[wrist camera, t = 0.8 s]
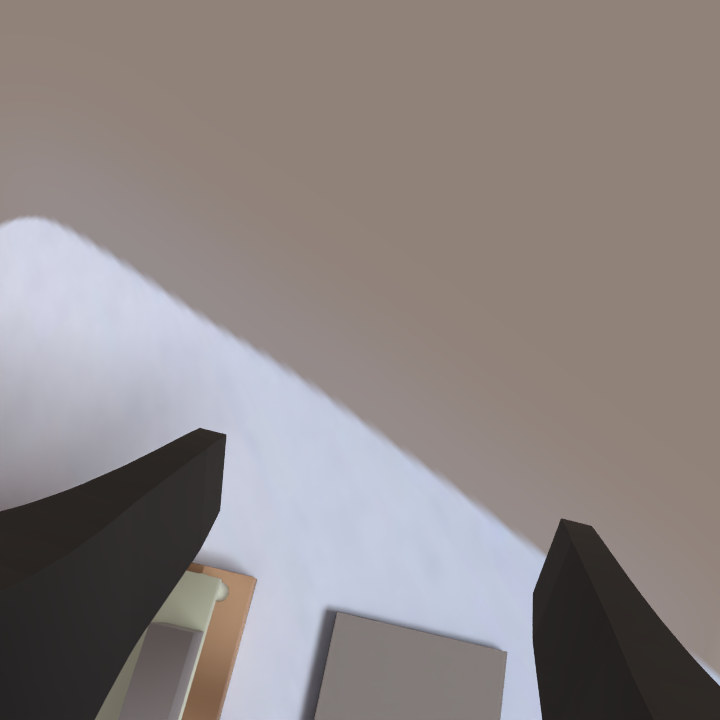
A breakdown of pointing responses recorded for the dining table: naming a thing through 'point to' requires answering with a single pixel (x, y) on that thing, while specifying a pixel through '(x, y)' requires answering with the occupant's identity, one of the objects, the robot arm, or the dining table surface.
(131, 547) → the robot arm
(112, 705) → the pale green toy table
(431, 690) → the rubber pad
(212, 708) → the puzzle board
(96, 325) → the dining table surface
